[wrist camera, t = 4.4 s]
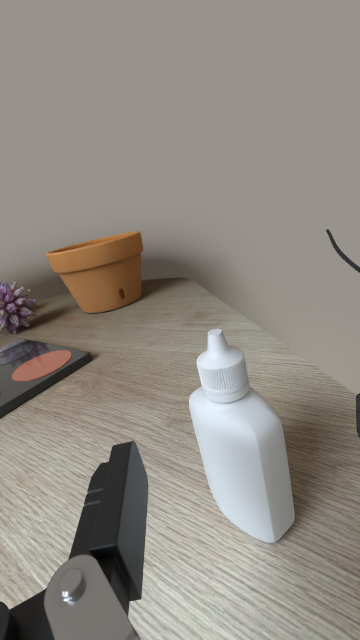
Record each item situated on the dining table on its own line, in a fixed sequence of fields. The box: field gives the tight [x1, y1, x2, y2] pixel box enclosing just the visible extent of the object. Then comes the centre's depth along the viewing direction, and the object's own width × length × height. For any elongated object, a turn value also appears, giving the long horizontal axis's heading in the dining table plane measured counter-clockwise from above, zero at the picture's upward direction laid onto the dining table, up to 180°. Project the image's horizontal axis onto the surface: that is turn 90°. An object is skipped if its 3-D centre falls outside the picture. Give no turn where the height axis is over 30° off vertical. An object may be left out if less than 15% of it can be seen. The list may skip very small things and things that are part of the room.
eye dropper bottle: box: [189, 329, 295, 543], centre depth 17 cm, size 4×6×12 cm
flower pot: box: [46, 231, 143, 313], centre depth 71 cm, size 21×21×15 cm
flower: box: [0, 282, 37, 333], centre depth 67 cm, size 12×12×12 cm
